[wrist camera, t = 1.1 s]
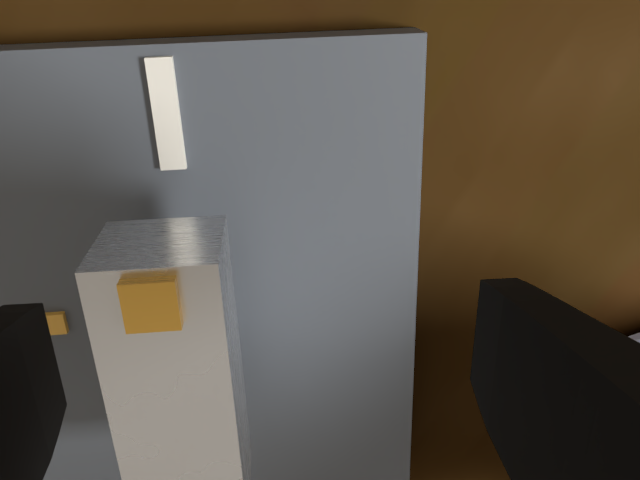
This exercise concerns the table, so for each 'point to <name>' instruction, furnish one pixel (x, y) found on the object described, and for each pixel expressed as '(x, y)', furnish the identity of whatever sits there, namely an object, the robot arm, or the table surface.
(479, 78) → the table surface
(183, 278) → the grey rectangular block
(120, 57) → the latch plate
